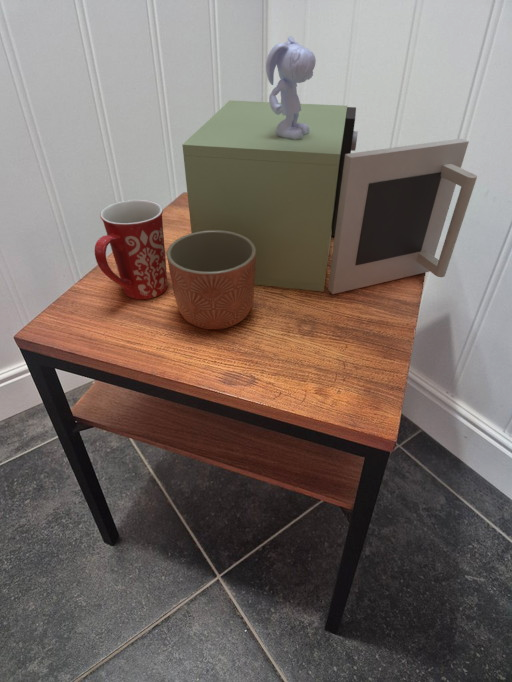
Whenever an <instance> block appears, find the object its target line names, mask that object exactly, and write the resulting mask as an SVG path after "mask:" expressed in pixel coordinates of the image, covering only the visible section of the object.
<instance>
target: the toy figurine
mask: <svg viewBox="0 0 512 682" xmlns="http://www.w3.org/2000/svg"><path fill="white" fill-rule="evenodd" d="M316 61H317V60H316V55H315V53H314V51H311V49H310V48H307V47H305V46H304V45H302V44H300V43H299V42H298V41H296V40H295V39H294V38H293V36H291V35H288V37H287V41H285V42H279V43H277V44H275V45H274V46H273V47H272V48H271V50H270V51H269V53H268V55H267V57H266V61H265V62H266V63H265V72H266V76H267V80H268V83H269V84H270V85H272V86H274V80H275V79H274V75H275V69H276V68H277V73H278V76H279V81H278V82H277V85H276V86H275V87H274V88H273V89H272V90H271V93H270V94H269V97H268V102H270V106H271V109H272V111H273V112H274V113H275V114H277V115H279V114H281V113H282V115H286V119H284V120H283V121H281V122H280V123H279V124H278V126H277V128H276V134H277V135H278V136H279V137H283V138H287V139H292V140H298V139H302V137H303V135H306V134H309V131H310V129H309V126H308V125H307V124H304V123H297V120H298V117H299V112H300V111H301V105H300V104H301V102H300V98H299V95H298V91H297V89H298V88H297V87H298V84H301V83H305V82H306V81H309V80H310V79H312V77H313V76H314V69H315V67H316ZM279 93H280V102H279V100H278V98H277V96H278V94H279ZM279 103H281V104H280V105H279Z"/></svg>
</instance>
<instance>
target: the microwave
mask: <svg viewBox="0 0 512 682" xmlns="http://www.w3.org/2000/svg"><path fill="white" fill-rule="evenodd" d="M278 103H279V105H280V104H281V102H278ZM300 105H301V111H300V112H299V117H298V120H297V123H304V124H307V125H308V126H309V129H310V131H309V134H306V135H303V137H302V139H298V140H292V139H287V138H283V137H279V136H278V135H277V134H276V128H277V126H278V124H279V123H280V122H281V121H283V120H284V119H286V115H282V113H281V114H279V115H277V114H275V113H274V112H273V111H272V109H271V106H270V102H269V101H268V102H267V101H249V100H229V101H227V102H226V103H225V104H224V105H223V106H222V107H220V109H219V110H217V112H215V113H214V114H213V115H212V116H211V117H210V118H208V120H206V122H205V123H204V124H203V125H201V126H200V127H199V128H198V129H197V130H196V131H195V132H194V133H193V134H192V135H191V136H190V137H189V138H188V139H186V141H184V142H183V143H182V155H183V165H184V175H185V183H186V184H185V185H186V193H187V203H188V212H189V213H188V214H189V222H190V230H191V231H190V232H191V233H195V232H200V231H208V230H221V231H229V232H234V233H237V234H240V235H242V236H245V237H246V238H248V239H249V240H250V241H251V242H252V243H253V244H254V246H255V248H256V262H255V285H254V286H265V287H275V288H285V289H292V290H293V289H294V290H303V291H312V292H321V293H324V291H325V284H326V279H327V277H326V276H327V271H328V265H329V264H328V263H329V257H330V248H331V240H332V237H335V230H336V222H337V214H338V206H339V198H340V190H341V183H342V175H343V167H344V159H345V154H350V153H352V151H353V152H356V148H357V142H358V134H359V131H358V130H355V124H356V117H357V116H356V115H357V107H356V106H348V105H340V104H318V103H317V104H315V103H300ZM191 233H190V234H191Z"/></svg>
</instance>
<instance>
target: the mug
mask: <svg viewBox="0 0 512 682" xmlns="http://www.w3.org/2000/svg"><path fill="white" fill-rule="evenodd" d="M163 213H164V209H163V207H162V205H160V204H159V203H158V202H155V201H151V200H147V199H127V200H122V201H118V202H114V203H112V204H109V205H107V206H106V207H104V208H103V209H102V210H101V211H100V213H99V217H100V220H101V221H102V222H103V225H104V229H105V232H106V235H103V236H101V237H99V238H98V240H97V241H96V243H95V246H94V257H95V262H96V264H97V266H98V268H99V269H100V270H101V272H102V273H103V274H104V275H105V276H106V277H107V278H109V279H110V280H111V281H113V282H114V283H115V284H117V285H119V286H121V287H122V289H123V292H124V294H125V296H127V297H129V298H131V299H135V300H148V299H153V298H157V297H158V296H161V295H162V294H164V293H165V292H166V290H168V273H167V272H168V271H167V256H166V248H165V247H166V246H165V236H164V225H163V224H164V223H163ZM108 246H110V249H111V252H112V255H113V259H114V263H115V266H116V269H117V272H118V275H117V274H116V273H114V272H113V270H112V268H111V267H110V266H109V264H108V263H109V262H108V259H107V249H108Z"/></svg>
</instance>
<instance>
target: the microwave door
mask: <svg viewBox="0 0 512 682" xmlns="http://www.w3.org/2000/svg"><path fill="white" fill-rule="evenodd" d="M469 142H470V141H469V140H466V139H464V138H455V139H447V140H440V141H433V142H425V143H418V144H411V145H410V144H409V145H403V146H395V147H388V148H381V149H373V150H366V151H359V152H351V153H350V154H345V159H344V167H343V175H342V183H341V190H340V198H339V206H338V214H337V222H336V230H335V236H334V239H333V247H332V255H331V260H330V269H329V270H330V271H329V277H328V286H327V291H329V292H330V293H331V295H336V294H340V293H344V292H349V291H353V290H357V289H361V288H366V287H370V286H374V285H379V284H382V283H386V282H387V283H388V282H390V281H391V282H392V281H396V280H399V279H403V278H404V279H405V278H408V277H412V276H416V275H421V274H425V273H431V274H433V275H434V276H435V277H437V278H444V277H446V274H447V270H448V268H449V265H450V262H451V258H452V256H453V252H454V249H455V246H456V244H457V241H458V237H459V234H460V231H461V228H462V226H463V221H464V219H465V216H466V212H467V210H468V207H469V203H470V200H471V197H472V194H473V191H474V189H475V185H476V181H477V178H478V176H477V174H474V173H473V172H470V171H469V170H466V169H464V168H463V167H462V166H463V162H464V159H465V156H466V152H467V150H468V146H469ZM456 185H457V186H459V187H460V189H459V193H458V196H457V200H456V203H455V206H454V210H453V212H452V216H451V219H450V223H449V226H448V228H447V232H446V235H445V239H444V242H443V245H442V248H441V251H440V255H439V257H438V258H436V253H437V250H438V246H439V243H440V239H441V237H442V233H443V230H444V226H445V223H446V221H447V220H446V219H447V216H448V213H449V209H450V207H451V203H452V200H453V196H454V192H455V189H456Z"/></svg>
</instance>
